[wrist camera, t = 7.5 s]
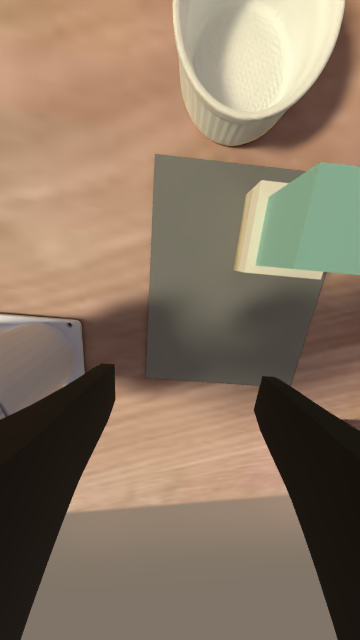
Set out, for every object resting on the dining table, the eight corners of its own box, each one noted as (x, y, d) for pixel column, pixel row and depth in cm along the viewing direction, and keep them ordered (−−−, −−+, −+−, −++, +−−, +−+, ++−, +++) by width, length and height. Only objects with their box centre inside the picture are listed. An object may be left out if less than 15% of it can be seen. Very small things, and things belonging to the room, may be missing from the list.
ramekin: (168, -1, 13) (163, -127, 8) (304, -16, 12) (366, -152, 8) (179, 161, 15) (180, 126, 11) (291, 150, 15) (334, 110, 11)
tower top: (238, 271, 16) (244, 272, 15) (252, 187, 14) (261, 180, 13) (308, 277, 16) (320, 279, 15) (331, 196, 14) (348, 189, 13)
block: (255, 265, 14) (293, 269, 10) (268, 197, 13) (320, 162, 8) (313, 270, 15) (378, 276, 10) (332, 203, 13) (419, 173, 9)
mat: (146, 376, 21) (145, 377, 21) (155, 156, 15) (155, 154, 15) (288, 386, 22) (289, 387, 21) (352, 178, 16) (355, 177, 15)
